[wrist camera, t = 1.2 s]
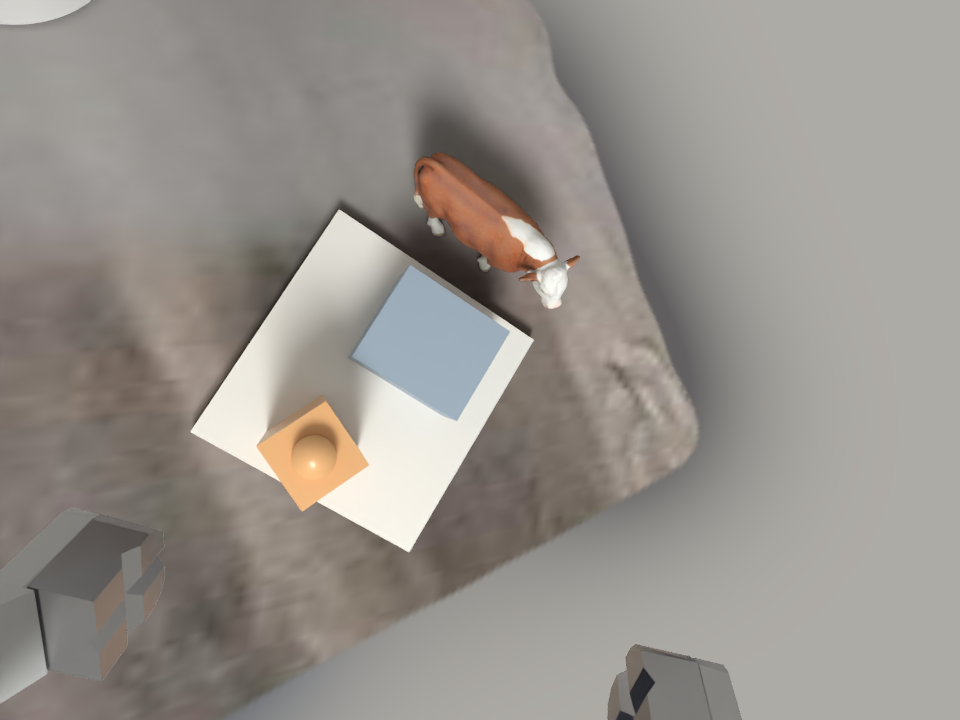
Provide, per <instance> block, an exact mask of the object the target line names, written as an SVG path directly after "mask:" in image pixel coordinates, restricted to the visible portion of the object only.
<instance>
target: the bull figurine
mask: <svg viewBox="0 0 960 720" xmlns="http://www.w3.org/2000/svg"><path fill="white" fill-rule="evenodd" d="M422 167H423V168H422ZM421 169H422V170H421ZM420 170H421V172H420ZM414 177H415V191H414V200H415V202H416V203H417V204H418V206H419V207H420V208H424V209H425V210H426V212H427V214H428V216H429V219H428V222H427V225H428V226H431V229H432V233H433V235H435V236H437V237H441V236H443V235H444V234H445V228H444V227H443V224H442V223H441V222H440V220H439V219H438V217H439V218H441V219H444V220H446V221H447V222H448V223H449V225H450V227H451V229H452V231H453V233H454V234H455V236H456V237H457V238H458V239H459V240H460V241H461V242H462V243H463V244H465V245H466V246H468V247H470V248H472V249H475V250H477V251H478V252H480V253H481V254H482V256H481V257H479V258H478V259H477V261H478V262H479V268H480V269H481V271H483V272H487V271H489V270H490V269H491V266H492V267H495V268H498V269H501V270H503V271H506V272H517V271H520V270H523V271H525V272H527V273H528V274H526V275H525V276H523V277H521V278H519V281H533V285H534V288H535V290H536V291H537V292H538V293H539V294H540V295H541V301H542V304H543V305H544V307H546V308H549V309H553V308H556V307H558V306H560V305H561V302H562V300H561V295H562V293H563V292H564V290H565V288H566V286H567V282H568V276H567V270H568V269H570V268H572V267H573V266H574V265H575V264H576V262H577V261H578V260H579V258H580V256H575V257H573V258H571V259H568V260H567V261H565V262H562V261H560V260H559V259H558V258H557V255H556V252H555V250H554V247H553V245H552V244H551V242H550V241H549V240H548V239H547V238H546V237H545V236H544V234H543V233H542V231H541V230H540V228H539V227H538V225H537V223H536V222H535V221H534V220H533V219H532V218H531V217H530V216H528V215H527V214H526V213H525V212H524V211H523V210H522V209H521V208H520V207H519V206H518V205H517V204H516V203H515V202H514V201H513V200H512V199H511V198H509V197H508V196H507V195H506V194H505V193H503V192H502V191H501V190H500V189H499V188H497V187H496V186H494V185H492V184H491V183H489V182H487V181H485V180H484V179H482V178H480V177H479V176H478V175H476V174H475V173H474V172H473V171H472V170H471V169H469V168H468V167H467V166H466V165H464V164H463V163H462V162H460V161H459V160H457V159H455V158H454V157H452V156H450V155H447V154H445V153H441V152H438V153H435V154H433V155H432V156H431V158H430V157H422V158H420V159H419V160H418V161H417V163H416V165H415V170H414Z"/></svg>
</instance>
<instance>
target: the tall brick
mask: <svg viewBox="0 0 960 720" xmlns="http://www.w3.org/2000/svg"><path fill="white" fill-rule="evenodd" d="M256 447H257V448H258V450H259V451H260V453H261V454H262V455H263V457H264V458H265V460H266V461H267V463H268V464H269V465H270V467H271V468H272V470H273V471H274V473H275V474H276V475H277V477H278V478H279V480H280V481H281V483H282V484H283V485H284V487H285V488H286V490H287V491H288V493H289V494H290V495H291V497H292V498H293V500H294V501H295V502H296V504H297V505H298V507H299V508H300V510H301V511H303V510H305V509H306V508H308V507H309V506H311V505H312V504H314V503H315V502H317V501H318V500H319V499H321V498H322V497H324V496H325V495H327V494H328V493H330V492H331V491H333V490H334V489H335V488H337V487H338V486H340V485H341V484H343V483H344V482H346V481H347V480H349V479H350V478H351V477H353V476H354V475H356V474H357V473H359V472H360V471H362V470H363V469H365V468H366V467H367V466H369V464H368V462H367V461H366V459H365V457H364V456H363V454H362V453H361V451H360V449H359V448H358V446H357V445H356V443H355V442H354V440H353V439H352V437H351V436H350V434H349V433H348V431H347V430H346V429H345V427H344V426H343V424H342V423H341V421H340V420H339V418H338V417H337V415H336V414H335V412H334V411H333V409H332V408H331V406H330V405H329V403H328V402H327V400H326V399H325V397H324V396H323V395H322V396H320V397H319V398H317V399H316V400H314V401H313V402H311V403H310V404H308V405H306V406H305V407H303V408H302V409H300V410H299V411H297V412H296V413H294V414H292V415H291V416H289V417H288V418H286V419H285V420H283V421H282V422H280V423H279V424H277V425H275V426H274V427H272V428H271V429H269V430H268V431H266V433H265V434H264V436H263V437H262V438H261V440H260V441H259V443H258V444H257V446H256Z"/></svg>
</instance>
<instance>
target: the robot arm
mask: <svg viewBox="0 0 960 720" xmlns="http://www.w3.org/2000/svg"><path fill="white" fill-rule="evenodd" d="M90 1H91V0H0V24H10V25H20V24H33V23H40V22H45V21H49V20H53V19H56V18H59V17H62V16H65V15H67V14H70V13H72V12H74V11H76V10H78V9H79V8H81V7H83V6H84V5H86V4H87V3H89V2H90ZM163 548H164V536H163V532H162V531H160V530H157V529H154V528H150V527H146V526H142V525H139V524H135V523H131V522H128V521H124V520H120V519H117V518H113V517H109V516H105V515H101V514H97V513H93V512H89V511H85V510H81V509H78V508H74V507H72V508H70V509H68V510H66V511H63V512H62V513H60V514H59V515H58V516H57V517H56V518H55V519H54V520H53V521H52V522H51V523H50V524H49V525H48V526H46V527H45V528H44V529H43V530H42V531H41V532H40V533H39V534H38V535H37V536H36V537H35V538H34V539H33V540H32V541H31V542H30V543H28V544H27V545H26V546H25V547H24V548H23V549H22V550H21V551H20V552H19V553H18V554H17V555H16V556H15V557H14V558H13V559H12V560H10V561H9V562H8V563H7V564H6V565H5V566H4V567H3V568H2V569H1V570H0V703H2V702H3V701H5V700H7V699H8V698H10V697H11V696H13V695H15V694H16V693H18V692H19V691H21V690H22V689H24V688H26V687H27V686H29V685H30V684H32V683H33V682H35V681H37V680H38V679H40V678H41V677H43V676H44V675H46V674H47V673H48V672H47V670H49V671H54V672H59V673H64V674H69V675H73V676H78V677H83V678H88V679H93V680H97V681H102V680H103V679H104V678H105V676H106V675H107V673H108V672H109V671H110V669H111V668H112V666H113V665H114V664H115V662H116V661H117V659H118V658H119V657H120V655H121V654H122V652H123V651H124V650H125V648H126V647H127V645H128V641H127V631H128V630H130V629H132V628H134V627H135V626H137V625H139V624H141V623H143V622H144V621H145V620H146V618H147V617H148V615H149V614H150V613H151V611H152V610H153V608H154V607H155V604H156V602H157V600H158V598H159V595H160V593H161V591H162V588H163V583H164V578H165V565H164V564H163V563H162V561H161V560H160V559H159V557H158V556H157V555H158V554H159V553H160V551H161V550H162V549H163ZM626 666H627V670H626V671H624V672H622V673H620V674H618V675H617V676H616V679H615V681H614V683H613V685H612V688H611V692H610V698H609V702H608V720H742V718H741V716H740V712H739V708H738V705H737V701H736V698H735V694H734V691H733V687H732V684H731V680H730V677H729V674H728V671H727V669H726V668H725V667H724V665H721V664H718V663H713V662H709V661H705V660H701V659H697V658H691V657H690V656H686V655H681V654H677V653H672V652H668V651H664V650H659V649H654V648H651V647H646V646H642V645H637V644H635V645H634V646H633V647H631V648H630V650H629V652H628V654H627V656H626Z"/></svg>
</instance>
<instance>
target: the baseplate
mask: <svg viewBox="0 0 960 720" xmlns="http://www.w3.org/2000/svg"><path fill="white" fill-rule="evenodd" d="M410 265H411V266H413V267H414V268H416V269H417V270H419V271H420V272H422V273H423V274H425V275H426V276H428V277H429V278H431V279H432V280H434V281H435V282H437V283H438V284H440V285H441V286H443V287H444V288H446V289H447V290H449V291H450V292H452V293H453V294H455V295H456V296H458V297H459V298H461V299H462V300H464V301H465V302H467V303H468V304H470V305H471V306H473V307H474V308H476V309H477V310H479V311H480V312H482V313H483V314H485V315H486V316H488V317H489V318H491V319H492V320H494V321H495V322H497V323H498V324H500V325H501V326H503V327H504V328H506V329H507V330H509V331H510V333H509V335H508V336H507V338H506V340H505V341H504V343H503V345H502V346H501V348H500V350H499V351H498V353H497V355H496V356H495V358H494V360H493V361H492V363H491V365H490V366H489V368H488V370H487V372H486V373H485V375H484V377H483V378H482V380H481V382H480V383H479V385H478V387H477V388H476V390H475V392H474V393H473V395H472V397H471V398H470V400H469V402H468V403H467V405H466V407H465V408H464V410H463V412H462V413H461V415H460V417H459V419H458V420H457V421H455V420H452V419H449V418H447V417H444V416H442V415H440V414H439V413H437V412H435V411H434V410H432V409H430V408H429V407H427V406H425V405H424V404H422V403H421V402H419V401H417V400H416V399H414V398H412V397H411V396H409V395H408V394H406V393H404V392H403V391H401V390H399V389H398V388H396V387H394V386H393V385H391V384H390V383H388V382H386V381H385V380H383V379H381V378H380V377H378V376H377V375H375V374H373V373H372V372H370V371H368V370H367V369H365V368H364V367H362V366H360V365H359V364H357V363H355V362H354V361H352V360H350V359H349V358H348V356H349V355H350V353H351V352H352V350H353V349H354V347H355V345H356V344H357V342H358V341H359V339H360V338H361V336H362V334H363V333H364V331H365V330H366V328H367V327H368V325H369V324H370V322H371V320H372V319H373V317H374V316H375V314H376V313H377V311H378V309H379V308H380V306H381V305H382V303H383V302H384V300H385V298H386V297H387V295H388V294H389V292H390V291H391V289H392V287H393V286H394V284H395V283H396V281H397V280H398V278H399V276H400V275H401V274H402V273H403V272H404V271H405V270H406V269H407V268H408V267H409V266H410ZM532 342H533V339H532V338H530V337H529V336H527V335H526V334H525V333H523V332H522V331H520V330H519V329H517V328H516V327H514V326H513V325H511V324H510V323H508V322H507V321H505V320H504V319H502V318H501V317H499V316H498V315H496V314H495V313H493V312H492V311H490V310H489V309H487V308H486V307H484V306H483V305H481V304H480V303H478V302H477V301H475V300H474V299H472V298H471V297H469V296H468V295H466V294H465V293H463V292H462V291H460V290H459V289H457V288H456V287H454V286H453V285H451V284H450V283H448V282H447V281H445V280H444V279H442V278H441V277H439V276H438V275H436V274H435V273H433V272H432V271H430V270H429V269H427V268H426V267H424V266H423V265H421V264H420V263H419V262H417V261H416V260H414V259H413V258H411V257H410V256H408V255H407V254H405V253H404V252H402V251H401V250H399V249H398V248H396V247H395V246H393V245H392V244H390V243H389V242H387V241H386V240H384V239H383V238H381V237H380V236H378V235H377V234H375V233H374V232H372V231H371V230H369V229H368V228H366V227H365V226H363V225H362V224H360V223H359V222H357V221H356V220H354V219H353V218H351V217H350V216H348V215H347V214H345V213H344V212H342V211H341V210H338V212H337V213H336V215H335V216H334V218H333V219H332V221H331V222H330V224H329V225H328V227H327V228H326V230H325V231H324V233H323V234H322V236H321V237H320V239H319V240H318V242H317V243H316V245H315V246H314V247H313V249H312V250H311V252H310V253H309V255H308V256H307V258H306V259H305V261H304V262H303V264H302V265H301V267H300V268H299V270H298V271H297V273H296V274H295V276H294V277H293V279H292V280H291V282H290V283H289V285H288V286H287V288H286V289H285V291H284V292H283V294H282V295H281V297H280V298H279V300H278V301H277V303H276V304H275V306H274V307H273V309H272V310H271V312H270V313H269V315H268V316H267V318H266V319H265V321H264V322H263V324H262V325H261V327H260V328H259V330H258V331H257V333H256V334H255V336H254V337H253V339H252V340H251V342H250V343H249V345H248V346H247V348H246V349H245V351H244V352H243V354H242V355H241V357H240V358H239V360H238V361H237V363H236V364H235V366H234V367H233V369H232V370H231V372H230V373H229V375H228V376H227V378H226V379H225V381H224V382H223V384H222V385H221V387H220V388H219V390H218V391H217V393H216V394H215V396H214V397H213V399H212V400H211V402H210V403H209V405H208V406H207V408H206V409H205V411H204V412H203V414H202V415H201V417H200V418H199V420H198V421H197V423H196V424H195V426H194V427H193V429H192V430H191V433H193V434H195V435H197V436H199V437H200V438H202V439H204V440H206V441H208V442H210V443H211V444H213V445H215V446H217V447H219V448H220V449H222V450H224V451H226V452H228V453H230V454H231V455H233V456H235V457H237V458H239V459H240V460H242V461H244V462H246V463H248V464H250V465H251V466H253V467H255V468H257V469H259V470H260V471H262V472H264V473H266V474H268V475H270V476H271V477H273V478H275V479H277V480H279V478H278V477H277V475H276V474H275V473H274V471H273V470H272V468H271V467H270V465H269V464H268V463H267V461H266V460H265V458H264V457H263V455H262V454H261V453H260V451H259V450H258V448H257V447H256V446H257V444H258V443H259V441H260V440H261V438H262V437H263V436H264V434H265V433H266V431H268V430H269V429H271V428H272V427H274V426H275V425H277V424H279V423H280V422H282V421H283V420H285V419H286V418H288V417H289V416H291V415H292V414H294V413H296V412H297V411H299V410H300V409H302V408H303V407H305V406H306V405H308V404H310V403H311V402H313V401H314V400H316V399H317V398H319V397H320V396H322V395H323V396H324V397H325V399H326V400H327V402H328V403H329V405H330V406H331V408H332V409H333V411H334V412H335V414H336V415H337V417H338V418H339V420H340V421H341V423H342V424H343V426H344V427H345V429H346V430H347V431H348V433H349V434H350V436H351V437H352V439H353V440H354V442H355V443H356V445H357V446H358V448H359V449H360V451H361V453H362V454H363V456H364V457H365V459H366V461H367V462H368V464H369V466H367V467H366V468H365V469H363V470H362V471H360V472H359V473H357V474H356V475H354V476H353V477H351V478H350V479H349V480H347V481H346V482H344V483H343V484H341V485H340V486H338V487H337V488H335V489H334V490H333V491H331V492H330V493H328V494H327V495H325V496H324V497H322V498H321V499H319V500H318V501H317V502H319V503H321V504H322V505H324V506H326V507H328V508H330V509H331V510H333V511H335V512H337V513H339V514H341V515H342V516H344V517H346V518H348V519H350V520H351V521H353V522H355V523H357V524H359V525H361V526H362V527H364V528H366V529H368V530H370V531H371V532H373V533H375V534H377V535H379V536H381V537H382V538H384V539H386V540H388V541H390V542H392V543H393V544H395V545H397V546H399V547H401V548H402V549H404V550H406V551H408V552H409V551H410V550H411V548H412V546H413V545H414V543H415V541H416V540H417V538H418V536H419V534H420V533H421V531H422V529H423V528H424V526H425V524H426V523H427V521H428V519H429V517H430V516H431V514H432V512H433V511H434V509H435V507H436V506H437V504H438V502H439V500H440V499H441V497H442V495H443V494H444V492H445V490H446V489H447V487H448V485H449V483H450V482H451V480H452V478H453V477H454V475H455V473H456V472H457V470H458V468H459V466H460V465H461V463H462V461H463V460H464V458H465V456H466V454H467V453H468V451H469V449H470V448H471V446H472V444H473V443H474V441H475V439H476V437H477V436H478V434H479V432H480V431H481V429H482V427H483V426H484V424H485V422H486V420H487V419H488V417H489V415H490V414H491V412H492V410H493V409H494V407H495V405H496V403H497V402H498V400H499V398H500V397H501V395H502V393H503V392H504V390H505V388H506V386H507V385H508V383H509V381H510V380H511V378H512V376H513V375H514V373H515V371H516V369H517V368H518V366H519V364H520V363H521V361H522V359H523V357H524V356H525V354H526V352H527V351H528V349H529V347H530V346H531V344H532ZM279 481H280V480H279ZM280 482H281V481H280Z"/></svg>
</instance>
